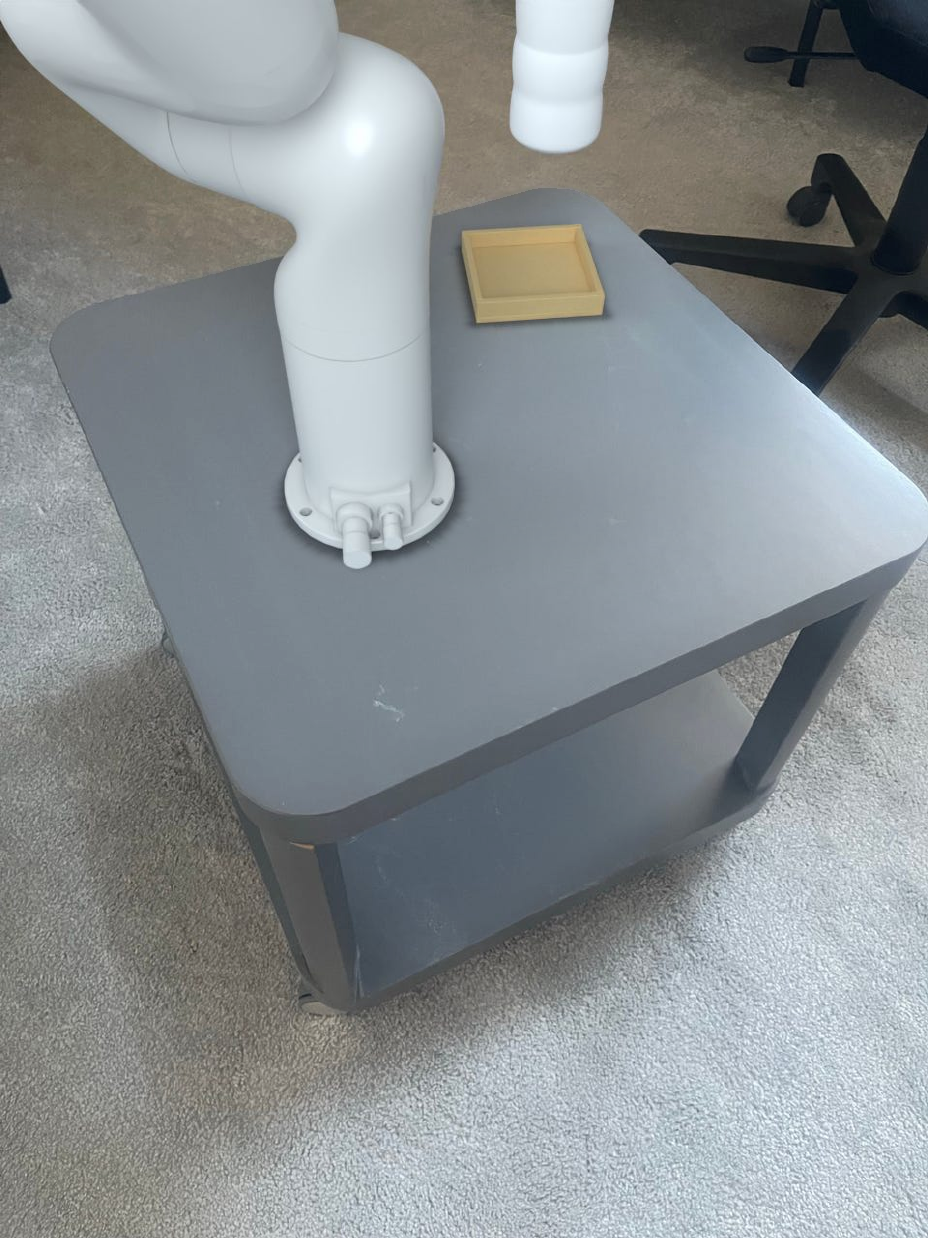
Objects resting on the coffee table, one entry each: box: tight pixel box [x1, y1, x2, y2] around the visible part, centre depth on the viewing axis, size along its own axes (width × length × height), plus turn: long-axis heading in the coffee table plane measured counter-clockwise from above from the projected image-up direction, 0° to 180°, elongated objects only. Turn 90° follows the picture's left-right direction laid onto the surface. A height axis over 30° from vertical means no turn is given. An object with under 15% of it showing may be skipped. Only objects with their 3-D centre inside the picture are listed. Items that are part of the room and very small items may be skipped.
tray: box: [461, 223, 606, 324], centre depth 91 cm, size 11×11×2 cm
